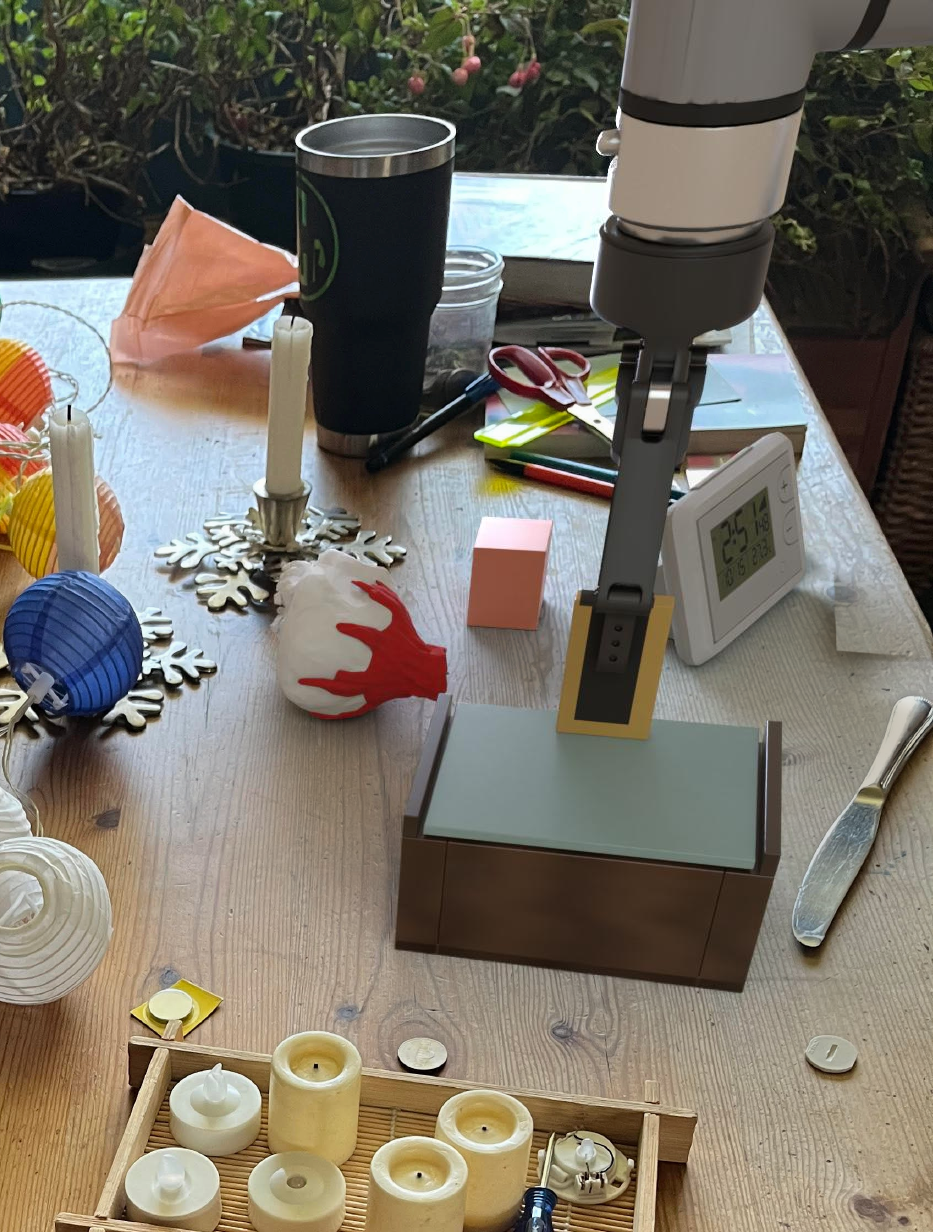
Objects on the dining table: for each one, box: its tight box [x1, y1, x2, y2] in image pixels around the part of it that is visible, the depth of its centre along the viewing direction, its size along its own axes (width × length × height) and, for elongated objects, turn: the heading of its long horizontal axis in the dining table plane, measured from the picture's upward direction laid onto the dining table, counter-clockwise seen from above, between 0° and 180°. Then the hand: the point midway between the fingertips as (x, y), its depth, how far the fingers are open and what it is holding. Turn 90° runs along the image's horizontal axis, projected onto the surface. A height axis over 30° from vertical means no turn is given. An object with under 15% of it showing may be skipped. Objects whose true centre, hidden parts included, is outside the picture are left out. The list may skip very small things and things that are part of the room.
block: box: [466, 516, 554, 631], centre depth 113 cm, size 5×5×6 cm
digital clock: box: [653, 431, 807, 666], centre depth 108 cm, size 16×9×11 cm, turn 126°
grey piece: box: [423, 589, 760, 869], centre depth 82 cm, size 17×13×9 cm
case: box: [394, 693, 783, 994], centre depth 87 cm, size 19×13×9 cm
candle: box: [269, 548, 450, 720], centre depth 105 cm, size 9×11×15 cm
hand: (611, 652), depth 84 cm, fingers open, 13 cm apart
